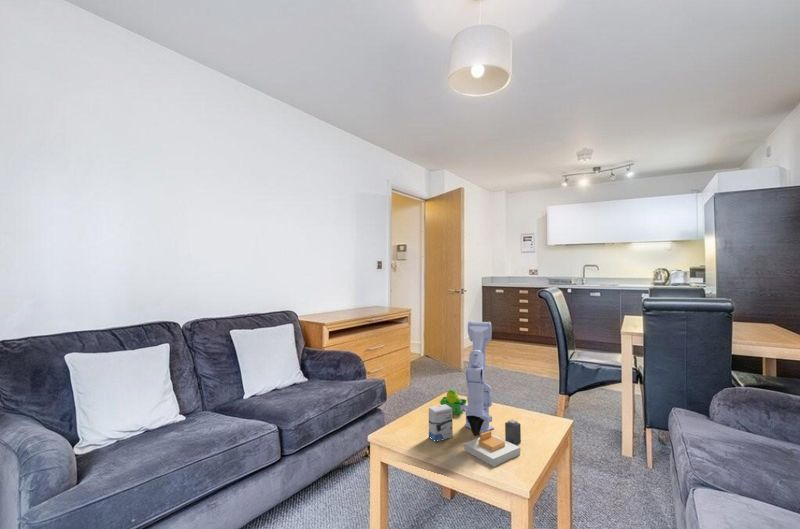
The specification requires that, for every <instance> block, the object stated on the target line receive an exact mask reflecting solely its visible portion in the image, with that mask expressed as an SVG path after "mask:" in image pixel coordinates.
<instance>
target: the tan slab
mask: <svg viewBox="0 0 800 529" xmlns="http://www.w3.org/2000/svg"><path fill="white" fill-rule="evenodd" d="M491 434H492V431H491V430H488V431H486V432H483V433H480V434H479V438H480V440H478V444H479V445H481V446H483V447H485V448H487V449H489V450H491V451H495V450H497V449H499V448H502V447H504V446H505V442H504V441H502V440H500V439H498V438H495V437H493V436H491Z"/></svg>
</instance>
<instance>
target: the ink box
mask: <svg viewBox="0 0 800 529" xmlns="http://www.w3.org/2000/svg"><path fill="white" fill-rule="evenodd" d="M453 426H454V425H453V413H452V408H451V407H449V406H448V405H446V404H444V405H441V404H440V405H436V406H435V405H433V406H430V407H428V438H429V437H431V438H432V439H433V440H435V441H437V440H441V441H443V440H442V439H445V440H447V439H446V438H449V439H451V437H452V438H453V436H454V434H453V433H454V431H453ZM432 439H431V440H432ZM433 440H432V441H433ZM435 441H434V442H435ZM437 442H438V441H437Z"/></svg>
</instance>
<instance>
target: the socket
mask: <svg viewBox="0 0 800 529" xmlns="http://www.w3.org/2000/svg"><path fill="white" fill-rule="evenodd" d="M491 436H493V437H495V438H498V439H500V440H502V441H504V442H505V446H504V447H502V448H499V449H497V450H495V451H491V450H489V449H487V448H485V447H483V446H481V445H479V444H478V440H480V437H478V438H475V439H472V440H469V441H466V442H464V443H463V451H464V450H465V452H466V451H467V452H466V453H468V452H469V453H468V454H470V455H472V456H473V455H474V456H473V457H475V456H476V457H475V458H477V457H478V458H477V459H479V460H480V461H483V462H485V463H487V464H488V465H490V466H492V467H497V466H498V465H500V464H503V463H505V462H507V461H509V460H511V459H514V458H515V457H518V456H520V455H521V447H520V446H518V445H517V444H515V445H514V444H512V443H510V442H508V441H505V439H503V438H501V437H499V436H497V435H494V434H492V433H491Z"/></svg>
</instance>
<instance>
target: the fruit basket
mask: <svg viewBox="0 0 800 529" xmlns="http://www.w3.org/2000/svg"><path fill="white" fill-rule="evenodd" d="M439 404H440V405H444V404H446V405H448V406H449V407H451V408H452V414H453V413H457V414H456V415H460V414H461V415H463V413H464V411H461V406H462V405H466V404H467V399H464V398H463V399H462V398H459V395H458V393H457V392H456V391H455V390H454V389H452V388H450V389H448V390H447V392H446V396H443V397H442V398H441V399H440V400H439Z"/></svg>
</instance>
